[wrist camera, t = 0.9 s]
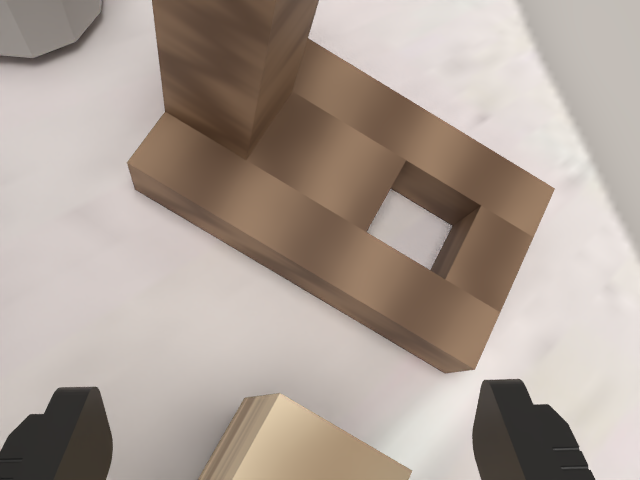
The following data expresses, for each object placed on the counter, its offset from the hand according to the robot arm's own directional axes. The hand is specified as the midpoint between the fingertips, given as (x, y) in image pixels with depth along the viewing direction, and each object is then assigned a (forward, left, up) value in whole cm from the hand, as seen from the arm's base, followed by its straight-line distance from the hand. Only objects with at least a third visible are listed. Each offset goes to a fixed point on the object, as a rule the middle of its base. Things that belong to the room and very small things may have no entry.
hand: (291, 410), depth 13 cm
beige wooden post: (+2, 0, -21) cm, 21 cm away
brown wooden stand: (-8, +11, -21) cm, 25 cm away
